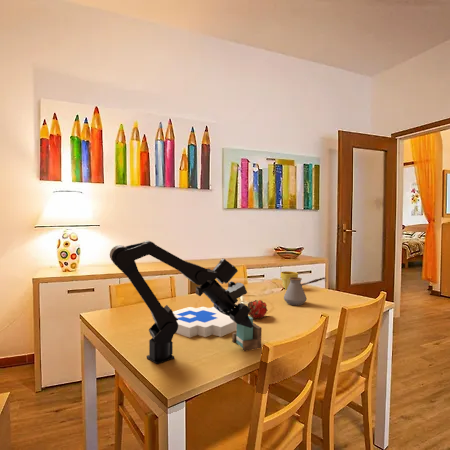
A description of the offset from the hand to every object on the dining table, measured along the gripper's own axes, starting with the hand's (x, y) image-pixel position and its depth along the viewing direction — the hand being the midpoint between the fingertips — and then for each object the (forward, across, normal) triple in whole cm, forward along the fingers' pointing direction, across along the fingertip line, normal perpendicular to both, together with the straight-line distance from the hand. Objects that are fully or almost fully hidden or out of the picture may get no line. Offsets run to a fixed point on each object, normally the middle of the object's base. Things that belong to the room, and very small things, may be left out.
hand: (245, 322), depth 122 cm
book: (+5, 0, +6) cm, 8 cm away
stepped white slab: (+2, +26, +10) cm, 28 cm away
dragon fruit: (+19, +26, -8) cm, 33 cm away
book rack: (+5, 0, +6) cm, 8 cm away
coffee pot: (+41, +36, -30) cm, 63 cm away
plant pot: (+51, +69, -40) cm, 95 cm away
